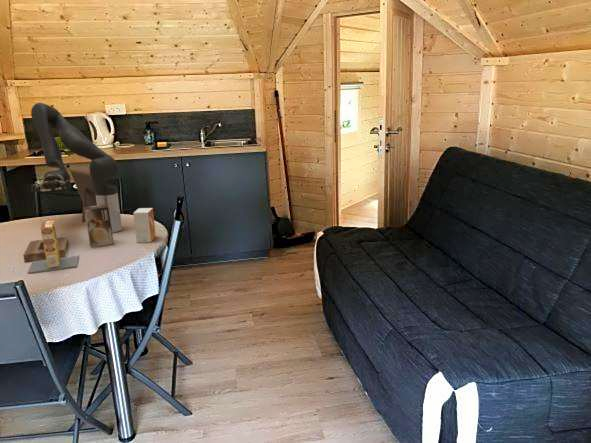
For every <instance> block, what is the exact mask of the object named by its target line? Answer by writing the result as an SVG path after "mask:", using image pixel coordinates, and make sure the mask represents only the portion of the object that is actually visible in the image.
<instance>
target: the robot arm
mask: <svg viewBox="0 0 591 443" xmlns="http://www.w3.org/2000/svg"><path fill="white" fill-rule="evenodd" d="M30 114H31V119H32V121H33V124H34V126H35V130H36V133H37V135H38V137H39V139H40V143H41V147H42V151H43V155H44V161H45V165H46V167H47V168H56V169H57V170H50V171H46V172H45V173H44V177H43V181H42V182H40V183H39V184H38V183H33V184H32V185H31V186H30V187H31V192H32V193H35V192H37V193H41V192H48V193H50V194H56V193H59V192H60V191H62V190H65V189H66V188H67V187H68V188H71V187H72V182H71V174H70V173H69V172H68V170H67V168H66V166H65V164H64V161H63V157H62V156H63V155H62V151H61V148H60V145H59V143H58V142H57V139H56V138H55V136H54V135H53V133H52V131H51V129H52V130H53V131H54V132H56V134H58V135H59V138H60V141H61V142H62V144H63V146H65V147H66V148H67V149H68V150H69V151H70V152H72V153H74V154H75V155H76V156H80V157H81V158H84V159H88V160H90V163H89V169H90V175H91V180H92V185H93V188H94V190H95V194H96V201H97V205H104V204H106V205H107V206H108V208H109V214H110V221H111V228H112V234H113V233H117V232H121V231H123V226H122V219H121V218H122V217H121V208H120V203H119V194H118V188H117V186H115V185H111V184H109V183H108V180H107V179H110V178H113V177H116V176H118V174H119V173H120V166H119V164H118V161H116V160H115V159H114V157H113V156H111V155H110V154H108V153H106V152H105V151H104V150H102V149H101V148H100V147H98V145H96V144H95V143H94V142H92V141H91V140H90V139H89V138H88V137H87V135H84V133H82V132H81V131H80V130H79V129H78V128H76V126H74V125H73V124H71V123H70V122H69V121H68V120H67V119H66V118H65V117H64V116H63V114H61V113H60V112H59V110H58V109H57V108H55V107H53V106H50V105H49V104H46V103H43V102H37V103H35V104H34V105H33V106H32V107H31V111H30Z"/></svg>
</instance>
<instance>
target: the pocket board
mask: <svg viewBox="0 0 591 443" xmlns="http://www.w3.org/2000/svg"><path fill="white" fill-rule="evenodd" d="M57 241H58V246H59V252H60V258H63V257H67V251H68V249H69V248H68V247H69V244H70V242H69V236H63V237H57ZM23 260H24V263H30V262H31V263H32V261H40V260H47V259H46V254H45V249H44V244H43V239H37V240H30V241H29V242H28V245H27V246H26V249H25V251H24V252H23Z"/></svg>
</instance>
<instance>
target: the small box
mask: <svg viewBox="0 0 591 443" xmlns="http://www.w3.org/2000/svg"><path fill="white" fill-rule="evenodd" d="M132 213H133V214H132V215H133V223H134V231H135V240H136V243H137V242H139V243H152V241H153V240H154V239H155V238H156V236H157V234H156V226H155V224H156V223H155V216H154V215H155V214H154V208H153V207H139V208H137V209H136V210H135V211H134V212H132Z"/></svg>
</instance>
